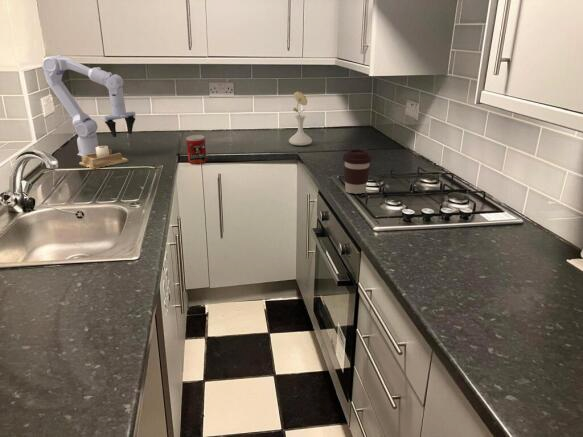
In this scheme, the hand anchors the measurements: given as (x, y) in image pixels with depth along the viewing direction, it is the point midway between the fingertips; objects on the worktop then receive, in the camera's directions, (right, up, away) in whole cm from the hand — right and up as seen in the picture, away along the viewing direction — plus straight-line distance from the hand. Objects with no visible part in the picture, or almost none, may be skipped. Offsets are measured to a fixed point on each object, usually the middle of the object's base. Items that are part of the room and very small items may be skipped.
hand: (122, 135), depth 209 cm
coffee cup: (+98, -28, -40) cm, 110 cm away
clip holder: (-6, -13, -6) cm, 16 cm away
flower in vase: (+79, -1, +22) cm, 82 cm away
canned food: (+35, -13, -6) cm, 37 cm away
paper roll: (-6, -12, -7) cm, 15 cm away
